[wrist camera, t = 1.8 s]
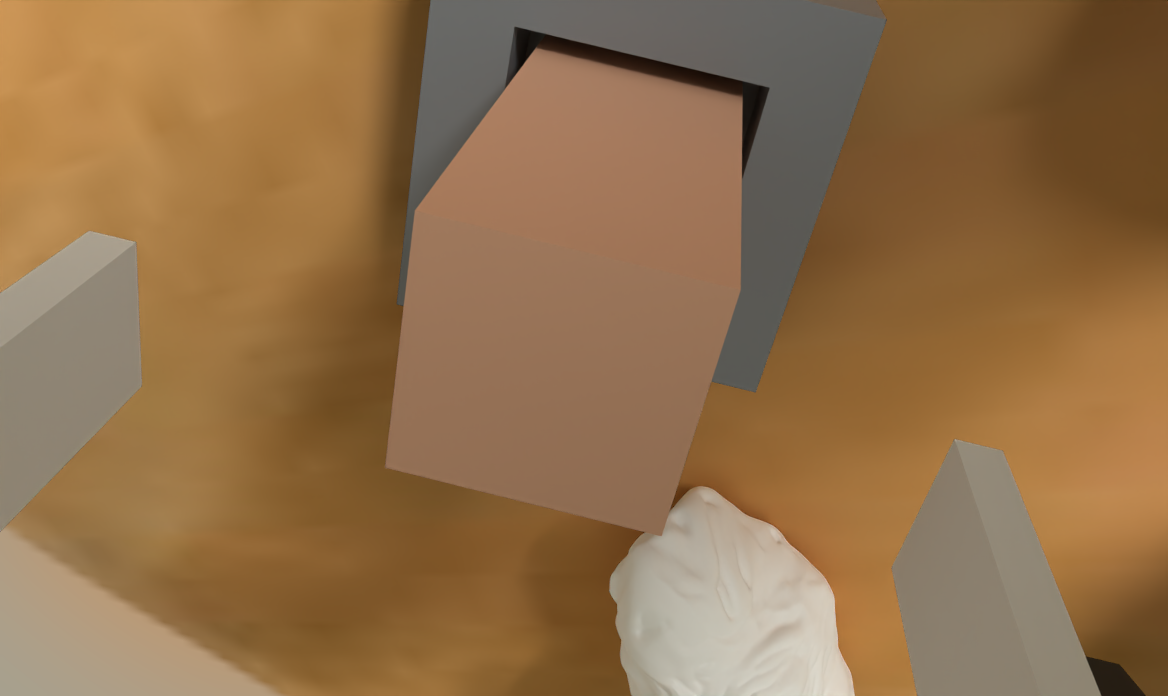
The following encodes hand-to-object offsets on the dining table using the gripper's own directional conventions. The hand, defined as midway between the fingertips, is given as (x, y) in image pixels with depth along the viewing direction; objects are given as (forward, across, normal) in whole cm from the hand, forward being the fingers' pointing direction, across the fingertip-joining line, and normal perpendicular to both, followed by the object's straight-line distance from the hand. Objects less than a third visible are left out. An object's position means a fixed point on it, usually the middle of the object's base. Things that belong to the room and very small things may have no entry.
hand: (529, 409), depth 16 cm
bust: (+13, +7, -15) cm, 21 cm away
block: (+12, 0, 0) cm, 12 cm away
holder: (+13, 0, 0) cm, 13 cm away
